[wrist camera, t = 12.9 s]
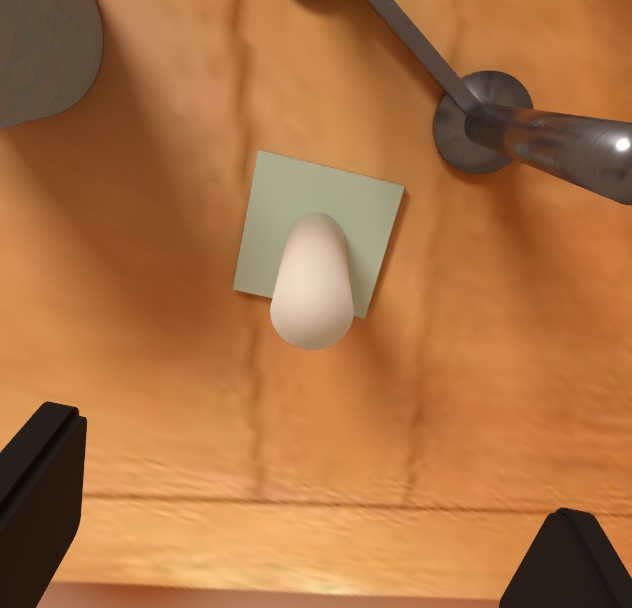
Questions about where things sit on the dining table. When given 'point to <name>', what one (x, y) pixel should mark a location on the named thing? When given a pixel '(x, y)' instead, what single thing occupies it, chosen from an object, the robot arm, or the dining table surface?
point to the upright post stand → (515, 124)
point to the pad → (315, 196)
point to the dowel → (313, 285)
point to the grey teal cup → (46, 56)
